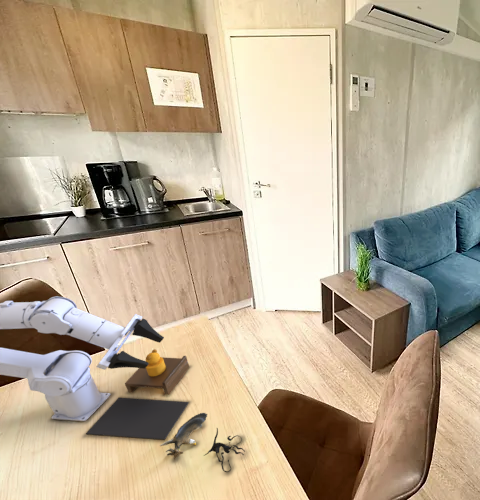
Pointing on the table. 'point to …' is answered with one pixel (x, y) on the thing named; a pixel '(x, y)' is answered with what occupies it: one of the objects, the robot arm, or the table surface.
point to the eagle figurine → (185, 434)
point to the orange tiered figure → (155, 364)
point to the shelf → (160, 376)
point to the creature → (226, 448)
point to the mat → (139, 418)
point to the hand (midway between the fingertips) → (154, 352)
